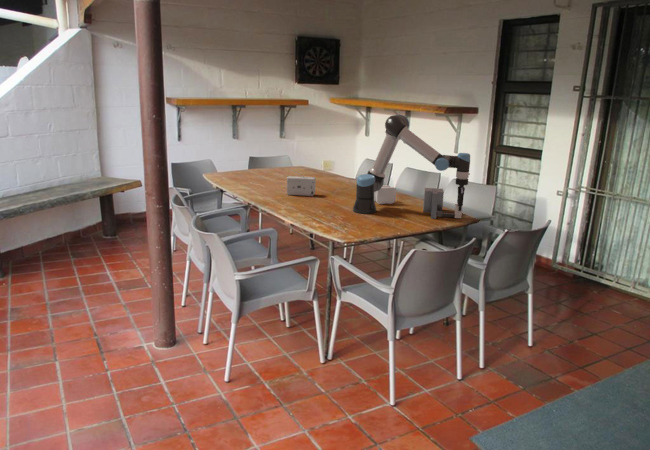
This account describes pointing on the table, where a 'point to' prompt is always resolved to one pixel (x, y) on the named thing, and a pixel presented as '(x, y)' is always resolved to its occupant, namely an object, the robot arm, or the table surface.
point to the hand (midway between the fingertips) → (458, 214)
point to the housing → (433, 201)
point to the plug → (440, 214)
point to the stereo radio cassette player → (301, 185)
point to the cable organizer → (385, 195)
